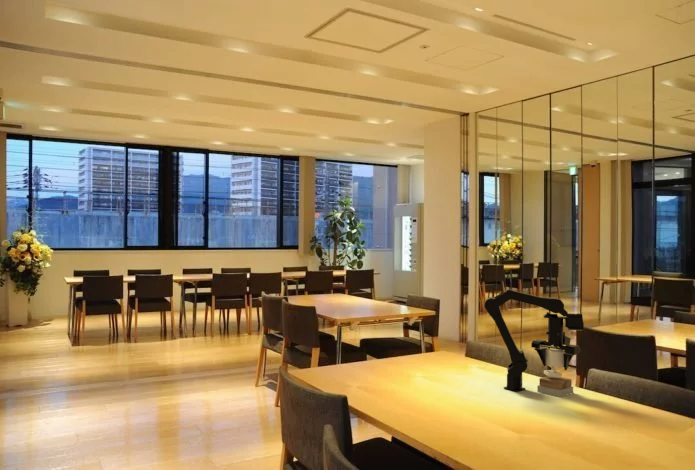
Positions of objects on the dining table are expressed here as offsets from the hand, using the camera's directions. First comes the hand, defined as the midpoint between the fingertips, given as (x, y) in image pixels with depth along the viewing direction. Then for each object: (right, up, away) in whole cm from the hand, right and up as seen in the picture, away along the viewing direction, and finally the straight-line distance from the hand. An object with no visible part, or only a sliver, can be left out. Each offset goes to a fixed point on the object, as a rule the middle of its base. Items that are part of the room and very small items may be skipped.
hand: (555, 367), depth 231 cm
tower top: (0, -7, 0) cm, 7 cm away
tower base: (0, -10, 0) cm, 10 cm away
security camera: (0, -3, 0) cm, 3 cm away
